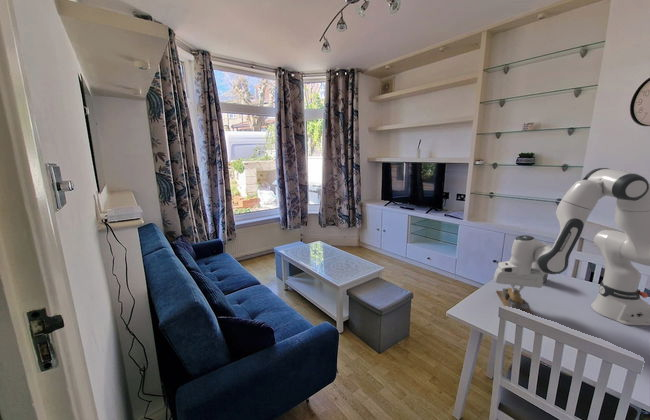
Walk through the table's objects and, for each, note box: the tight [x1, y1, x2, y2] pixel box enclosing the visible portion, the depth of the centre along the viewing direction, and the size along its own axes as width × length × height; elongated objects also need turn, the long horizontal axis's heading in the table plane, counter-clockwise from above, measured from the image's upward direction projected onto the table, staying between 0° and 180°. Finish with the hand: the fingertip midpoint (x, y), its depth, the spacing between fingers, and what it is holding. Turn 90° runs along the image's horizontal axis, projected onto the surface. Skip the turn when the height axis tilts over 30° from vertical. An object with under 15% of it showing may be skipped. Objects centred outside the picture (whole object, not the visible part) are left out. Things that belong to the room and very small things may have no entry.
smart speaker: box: [532, 262, 549, 283], centre depth 157 cm, size 10×9×14 cm
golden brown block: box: [507, 287, 523, 303], centre depth 136 cm, size 3×11×5 cm, turn 163°
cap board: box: [495, 287, 533, 314], centre depth 136 cm, size 10×20×4 cm, turn 163°
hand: (515, 292), depth 136 cm, fingers closed
